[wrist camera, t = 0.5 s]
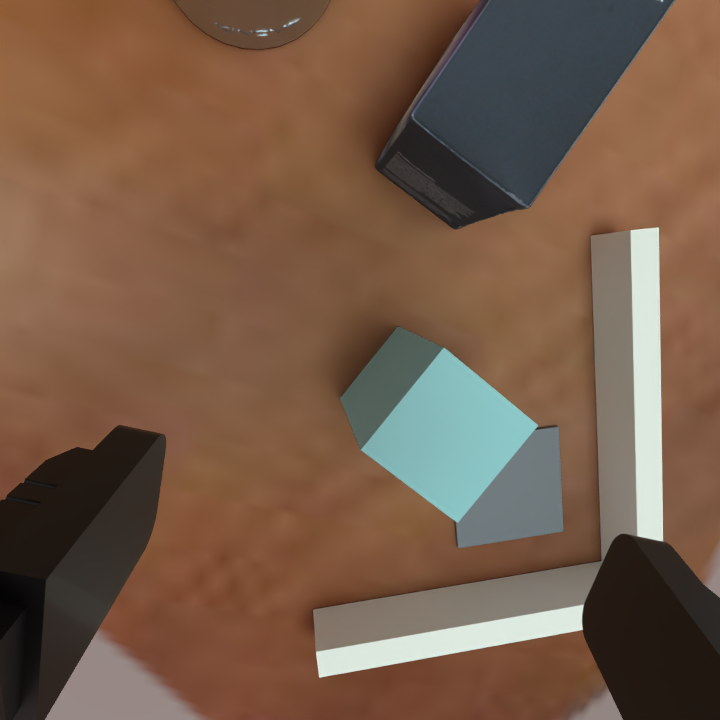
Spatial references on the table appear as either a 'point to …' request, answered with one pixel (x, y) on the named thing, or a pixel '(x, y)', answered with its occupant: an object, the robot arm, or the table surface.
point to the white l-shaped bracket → (539, 496)
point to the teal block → (433, 421)
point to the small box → (512, 101)
